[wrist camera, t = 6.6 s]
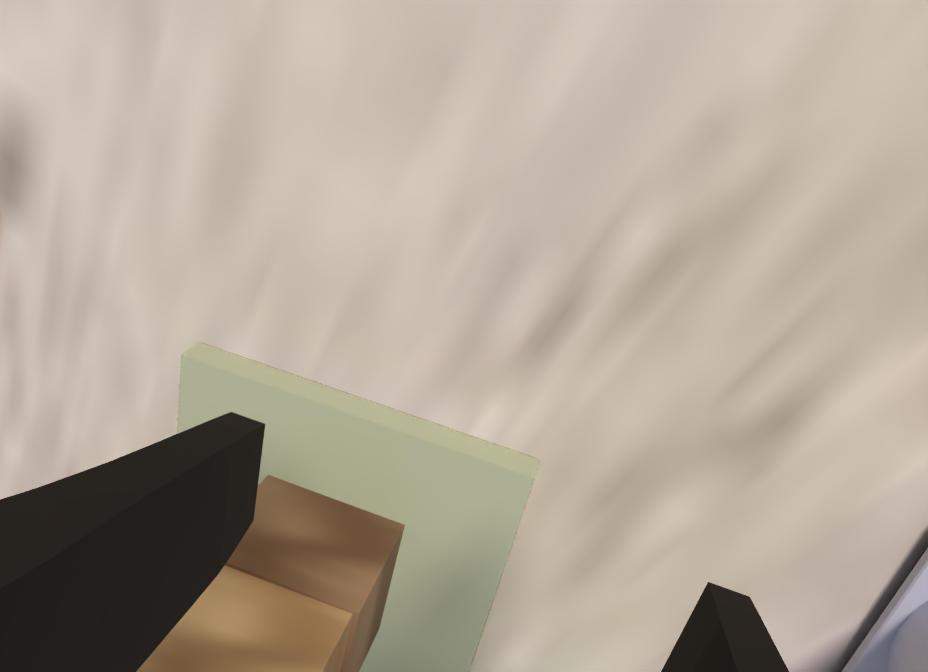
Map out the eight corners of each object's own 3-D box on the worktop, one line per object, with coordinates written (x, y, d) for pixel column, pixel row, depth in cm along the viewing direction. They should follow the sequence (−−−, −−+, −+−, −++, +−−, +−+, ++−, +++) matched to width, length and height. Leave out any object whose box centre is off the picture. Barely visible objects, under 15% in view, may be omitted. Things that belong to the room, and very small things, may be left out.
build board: (540, 460, 22) (535, 478, 22) (457, 703, 28) (449, 725, 27) (199, 342, 24) (181, 354, 23) (182, 594, 29) (167, 612, 28)
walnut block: (405, 524, 24) (359, 613, 20) (379, 628, 26) (333, 725, 22) (267, 474, 24) (199, 552, 21) (254, 580, 26) (190, 666, 23)
